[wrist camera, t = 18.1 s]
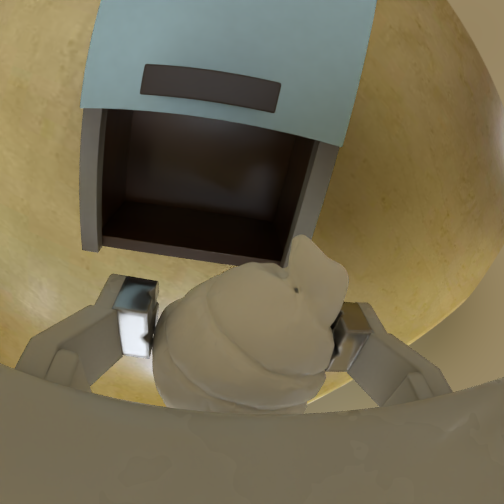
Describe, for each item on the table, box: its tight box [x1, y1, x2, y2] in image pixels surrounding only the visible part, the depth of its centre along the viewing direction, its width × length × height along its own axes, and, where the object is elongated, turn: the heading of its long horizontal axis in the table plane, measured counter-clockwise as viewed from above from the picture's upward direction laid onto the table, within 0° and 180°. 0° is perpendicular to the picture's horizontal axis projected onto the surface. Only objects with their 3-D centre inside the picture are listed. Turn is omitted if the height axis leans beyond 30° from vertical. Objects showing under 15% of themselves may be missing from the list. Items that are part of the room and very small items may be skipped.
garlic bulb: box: [152, 234, 349, 414], centre depth 9 cm, size 6×6×5 cm
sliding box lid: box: [80, 0, 377, 147], centre depth 9 cm, size 10×14×4 cm
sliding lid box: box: [79, 108, 339, 268], centre depth 17 cm, size 20×14×8 cm
